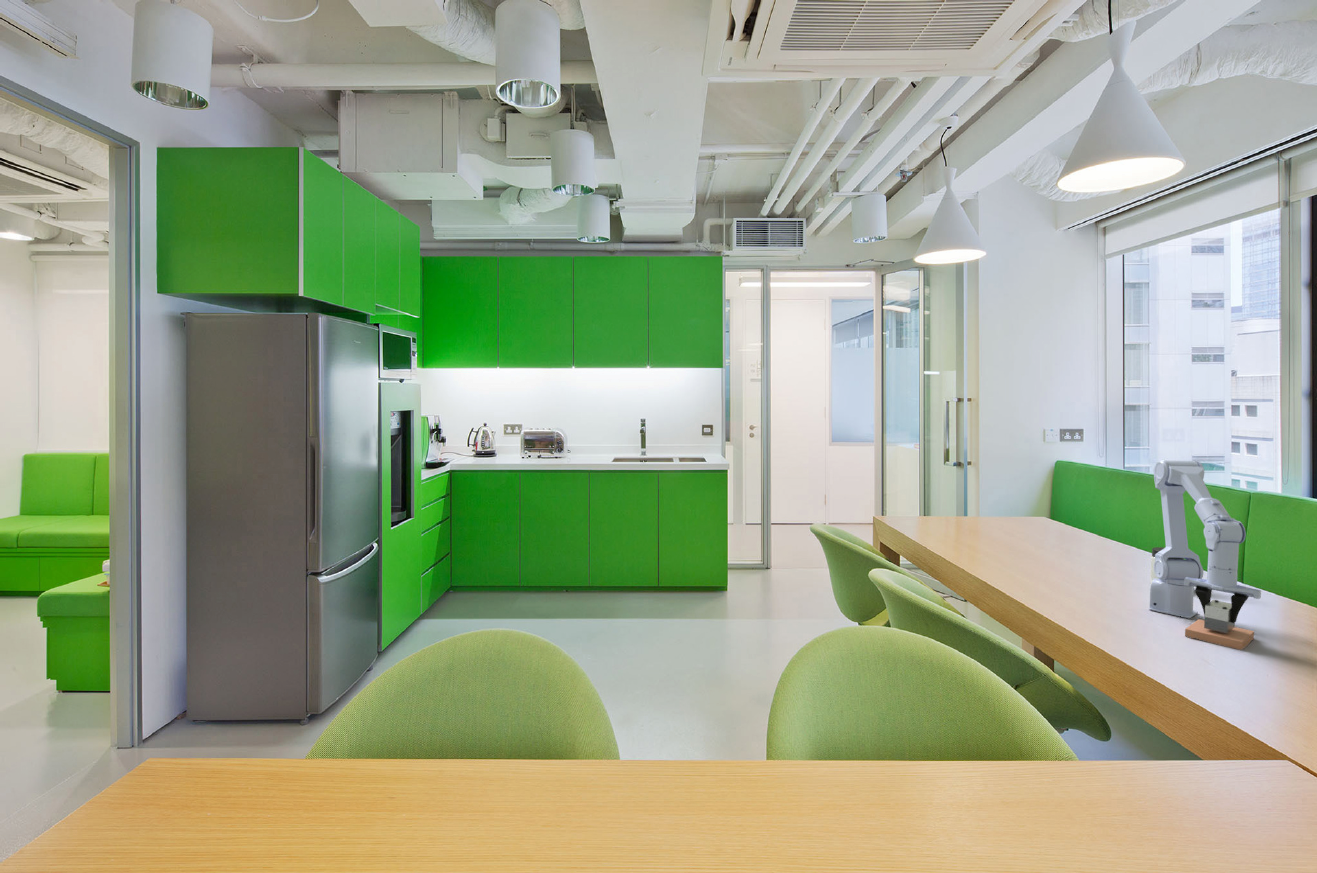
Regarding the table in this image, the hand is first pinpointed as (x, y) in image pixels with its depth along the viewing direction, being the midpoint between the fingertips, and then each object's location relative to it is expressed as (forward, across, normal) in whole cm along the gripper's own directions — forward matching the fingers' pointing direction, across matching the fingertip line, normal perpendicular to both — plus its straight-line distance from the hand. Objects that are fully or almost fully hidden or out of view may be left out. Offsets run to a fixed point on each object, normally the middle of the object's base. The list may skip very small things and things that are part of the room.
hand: (1220, 619), depth 160 cm
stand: (+5, 0, 0) cm, 5 cm away
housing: (+2, 0, 0) cm, 2 cm away
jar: (+5, -22, +45) cm, 51 cm away
